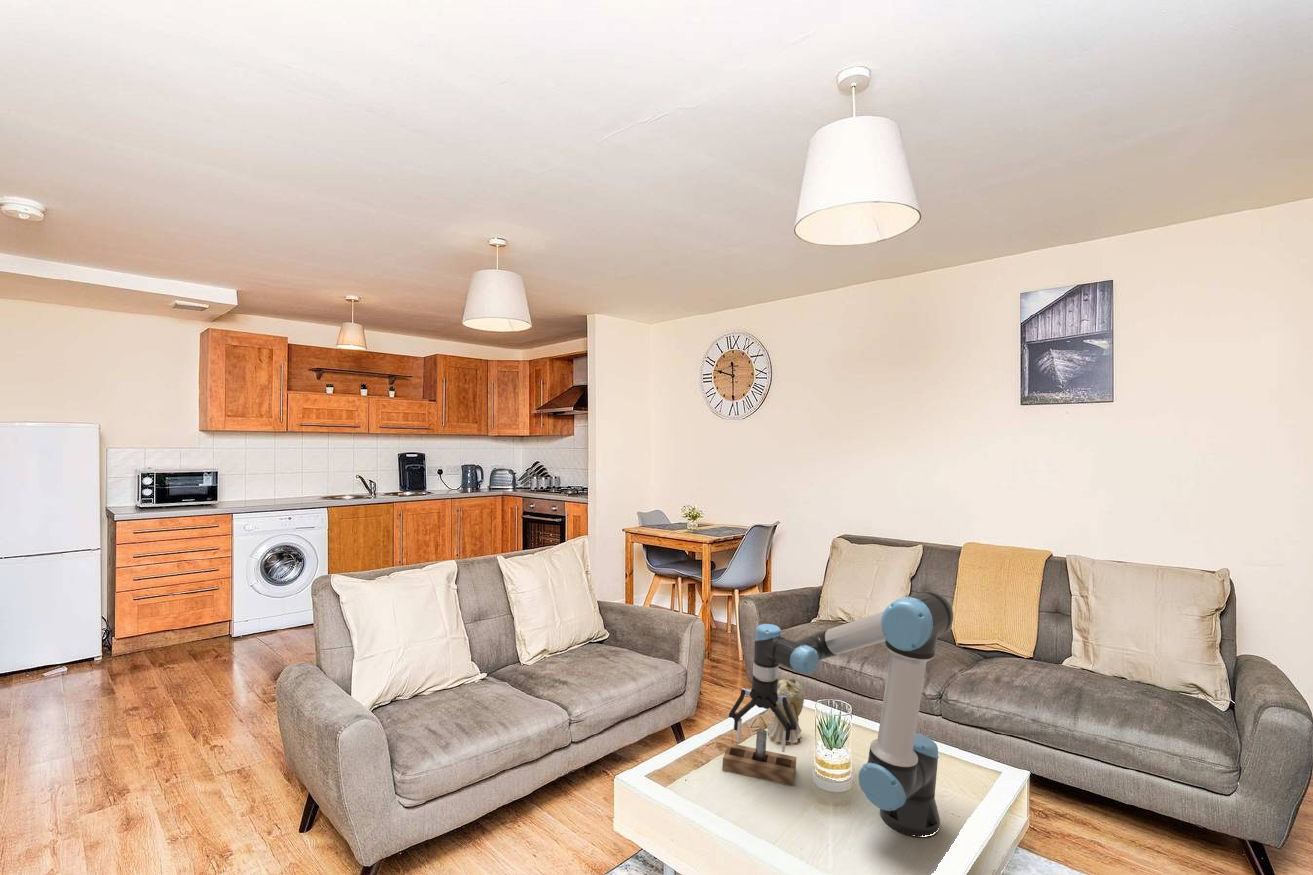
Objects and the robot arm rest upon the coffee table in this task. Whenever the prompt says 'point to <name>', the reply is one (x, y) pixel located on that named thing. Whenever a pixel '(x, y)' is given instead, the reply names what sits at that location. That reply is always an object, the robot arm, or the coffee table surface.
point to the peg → (761, 745)
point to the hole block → (759, 764)
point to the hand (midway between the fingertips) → (760, 745)
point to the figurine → (795, 703)
